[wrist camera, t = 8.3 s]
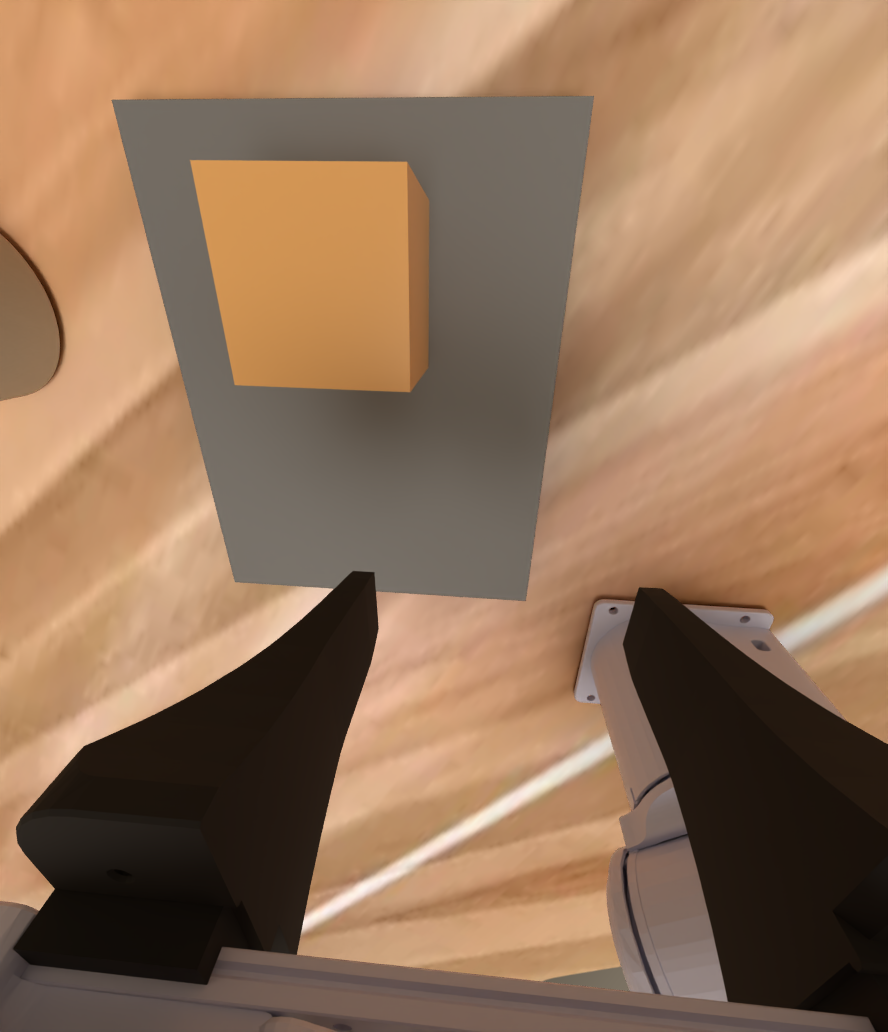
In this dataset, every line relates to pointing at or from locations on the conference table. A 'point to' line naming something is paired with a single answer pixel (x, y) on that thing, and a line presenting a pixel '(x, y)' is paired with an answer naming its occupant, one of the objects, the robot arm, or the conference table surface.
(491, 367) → the board
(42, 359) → the travel mug
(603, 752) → the conference table surface
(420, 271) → the wooden toy cube
